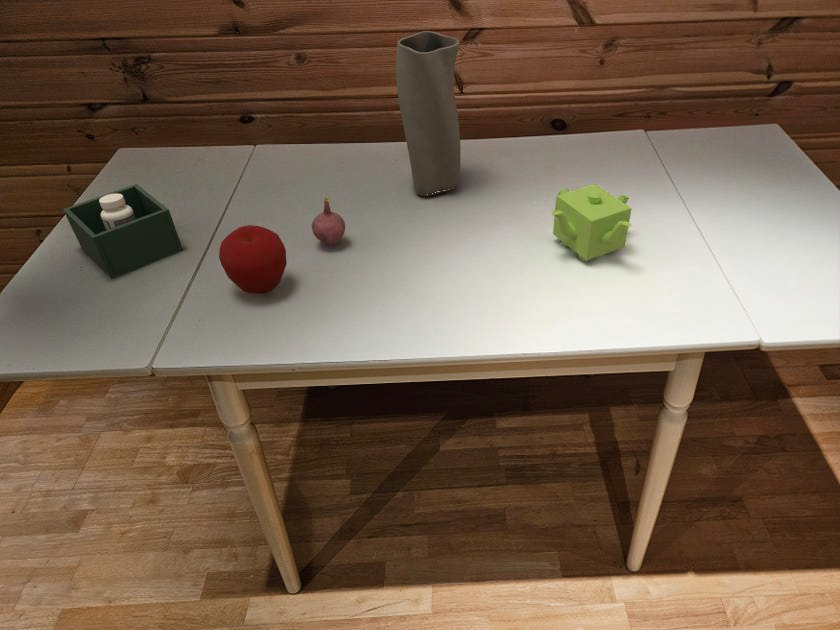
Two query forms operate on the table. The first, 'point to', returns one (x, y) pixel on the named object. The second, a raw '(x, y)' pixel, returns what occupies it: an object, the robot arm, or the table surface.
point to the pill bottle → (115, 211)
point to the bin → (125, 232)
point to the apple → (253, 259)
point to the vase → (429, 109)
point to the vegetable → (328, 225)
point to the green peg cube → (591, 221)
